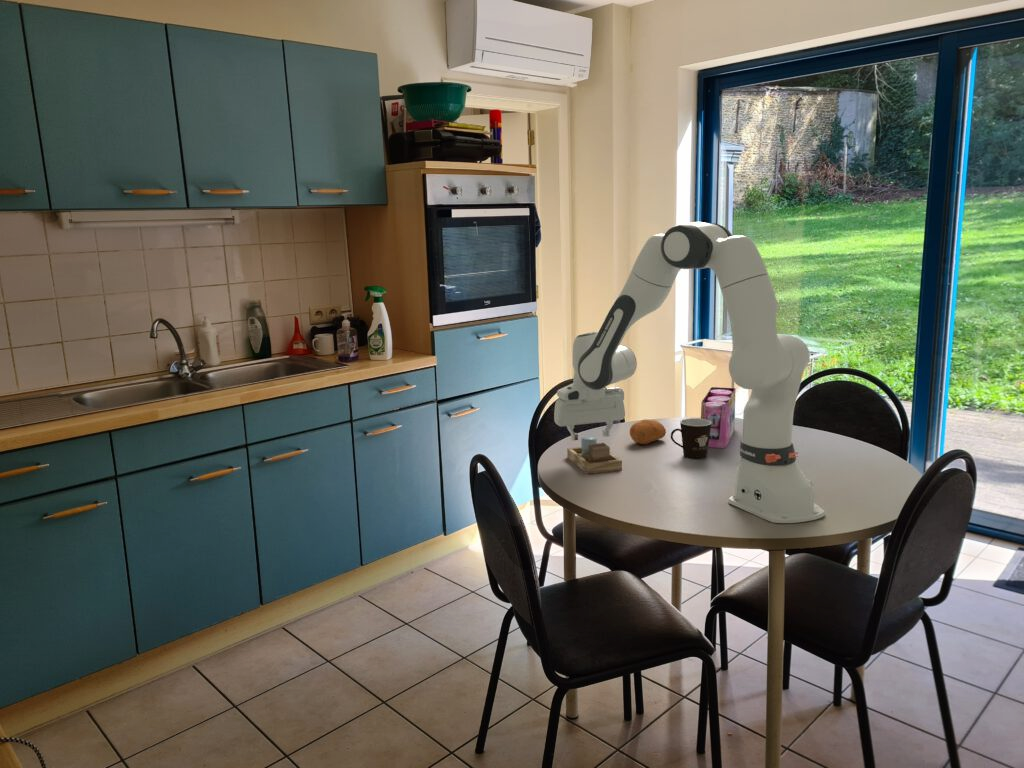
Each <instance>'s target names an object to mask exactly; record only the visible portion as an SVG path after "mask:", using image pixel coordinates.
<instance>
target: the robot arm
mask: <svg viewBox="0 0 1024 768" xmlns="http://www.w3.org/2000/svg"><path fill="white" fill-rule="evenodd" d="M708 268H709V269H711V271H712V272H713V273H714V274H715V276H716V279H717V282H718V285H719V288H720V292H721V294H722V299H723V302H724V304H725V308H726V311H727V315H728V317H729V321H730V327H731V339H732V342H731V344H732V352H731V356H730V359H729V361H728V373H729V376H730V378H731V379H732V381H733V382H734V383H735V385H737V386H738V387H740V388H742V389H744V390H751V392H750V395H749V398H748V400H747V402H746V403H745V406H744V408H743V417H742V419H743V420H742V439H741V440H740V445H739V455H740V457H741V458H740V460H739V463H738V465H737V466H736V469H735V472H734V482H733V489H732V495H731V496H730V497H728V501H727V502H728V504H730V505H732V506H734V507H737V508H739V509H741V510H744V511H746V512H748V513H751V514H752V515H755V516H756V517H759V518H761V519H764V520H766V521H768V522H770V523H774V524H776V523H777V524H797V523H804V522H811V521H815V520H818V519H821V518H823V517H825V515H826V511H825V510H824V509H823V508H821V507H820V505H818V504H817V503H815V497H814V495H815V494H814V488H813V482H812V481H811V480H810V479H807V477H806V476H805V474H804V473H803V471H802V470H801V468H800V467H799V466H798V464H797V462H796V461H797V458H799V456H798V454H799V452H798V451H796V449H795V447H794V443H793V442H792V440H793V439H792V438H793V424H794V423H793V422H794V413H795V412H794V411H795V407H796V402H797V399H798V394H799V392H800V391H799V390H800V387H801V383H802V379H803V375H804V373H805V370H806V369H807V367H808V365H809V362H810V357H811V356H810V355H811V354H810V351H809V350H810V349H809V347H808V345H807V344H806V343H805V342H804V341H803V340H802V339H800V338H799V337H797V336H792V335H788V334H787V335H786V334H778V330H777V329H778V328H777V313H778V311H779V303H778V301H777V297H776V294H775V291H774V287H773V285H772V281H771V279H770V276H769V272H768V270H767V267H766V265H765V262H764V260H763V257H762V256H761V253H760V251H759V249H758V248H757V246H756V244H755V242H754V240H753V239H752V238H750V237H748V236H746V235H742V234H741V235H740V234H739V235H732V233H731V232H730V230H729V229H728V228H727V227H725V226H723V225H721V224H720V223H719V224H718V223H709V222H702V221H693V222H682V223H679V224H676V225H673V226H672V227H670V228H669V229H668V230H667V231H666V232H665V233H659V234H658V233H657V234H653V235H652V236H650V237H649V238H648V239H647V241H646V242H645V244H644V245H643V247H642V248H641V250H640V252H639V254H638V256H637V257H636V259H635V261H634V264H633V266H632V268H631V270H630V274H629V275H628V277H627V279H626V281H625V284H624V285H623V287H622V290H621V291H620V293H619V294H618V297H617V298H616V300H615V301H614V303H612V306H611V307H610V310H609V311H608V313H607V315H606V316H605V318H604V321H603V322H602V324H601V326H600V327H599V330H598V331H593V332H586V333H582V334H579V335H577V336H576V337H575V338H574V340H573V343H572V344H573V345H572V368H573V369H574V371H573V372H574V374H573V378H572V381H573V382H572V383H570V384H568V385H566V386H564V387H561V388H560V389H557V391H556V396H557V400H556V401H555V404H554V412H553V419H554V423H555V424H556V425H557V426H559V427H561V428H562V427H566V429H567V430H568V432H569V433H570V439H571V440H572V441H578V440H579V434H578V433H577V432H575V431H574V429H575V426H578V425H587V424H596V423H605V424H606V426H605V428H604V429H601V431H602V436H603V438H605V437H606V438H607V437H610V436H611V435H610V433H611V432H610V431H611V429H612V428H613V426H614V421H622V420H624V418H625V417H626V411H625V402H624V400H625V392H624V389H622V388H620V387H617V386H616V387H608V386H609V385H613V384H616V383H618V382H619V383H620V382H621V381H624V380H627V379H629V378H630V377H632V376H633V375H634V374H635V372H636V370H637V358H636V355H635V353H634V351H633V350H632V349H631V348H629V347H627V346H625V345H621V343H622V342H623V339H624V337H625V336H626V333H627V332H628V331H629V330H630V328H631V327H632V326H633V325H634V324H635V323H636V322H638V321H639V320H640V319H643V318H644V317H646V316H647V315H649V314H651V313H653V312H654V311H657V310H658V309H659V308H660V307H661V306H662V305H663V303H664V302H665V301H666V299H667V298H668V296H669V295H670V292H671V290H672V287H673V285H674V282H675V280H676V278H677V275H678V274H679V272H680V271H681V270H691V269H692V270H693V269H695V270H702V269H708ZM606 387H607V388H606Z"/></svg>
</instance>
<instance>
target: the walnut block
mask: <svg viewBox="0 0 1024 768" xmlns="http://www.w3.org/2000/svg"><path fill="white" fill-rule="evenodd" d="M610 450H611V448H610V446H609V445H607V444H606V443H604V442H600V443H599V442H597V444H588V462H589V463H594V462H603V461H610V452H611V451H610Z"/></svg>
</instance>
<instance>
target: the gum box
mask: <svg viewBox="0 0 1024 768" xmlns="http://www.w3.org/2000/svg"><path fill="white" fill-rule="evenodd" d="M700 407H701V408H700V419H705V420H709V421H711V430H710V437H709V444H708V448H715V449H717V448H719V449H726V448H727V446H728V444H729V442H730V440H731V438H732V436H733V434H734V432H735V420H736V419H735V417H736V388H735V387H717V386H711V387H710V388H709V390H708V392H707V393H706V395H705V396H704V397H703V399H702V401H701V406H700Z"/></svg>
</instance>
